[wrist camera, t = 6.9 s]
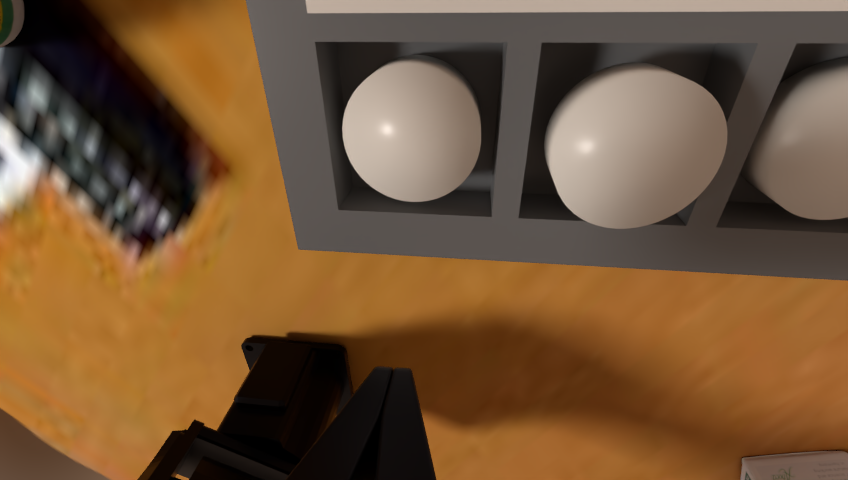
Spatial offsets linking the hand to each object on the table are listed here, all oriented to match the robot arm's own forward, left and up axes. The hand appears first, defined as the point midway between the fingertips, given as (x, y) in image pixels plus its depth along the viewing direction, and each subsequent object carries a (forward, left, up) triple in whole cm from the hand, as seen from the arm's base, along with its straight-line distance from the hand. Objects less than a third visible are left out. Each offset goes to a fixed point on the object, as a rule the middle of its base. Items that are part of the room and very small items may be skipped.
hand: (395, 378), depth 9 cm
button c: (+3, +1, -9) cm, 10 cm away
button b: (+3, -6, -8) cm, 11 cm away
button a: (+3, -13, -9) cm, 17 cm away
